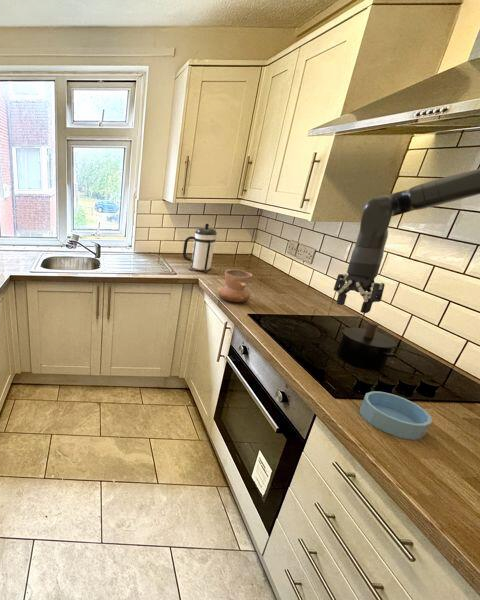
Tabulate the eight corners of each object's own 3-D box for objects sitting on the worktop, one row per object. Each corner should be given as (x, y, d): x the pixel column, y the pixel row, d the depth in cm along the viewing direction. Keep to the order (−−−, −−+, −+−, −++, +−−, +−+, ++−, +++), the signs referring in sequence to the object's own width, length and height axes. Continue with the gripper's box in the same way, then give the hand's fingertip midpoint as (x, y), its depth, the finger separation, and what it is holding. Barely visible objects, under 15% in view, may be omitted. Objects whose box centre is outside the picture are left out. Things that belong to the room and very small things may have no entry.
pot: (357, 346, 116) (365, 326, 113) (401, 375, 100) (412, 352, 97) (323, 346, 117) (330, 325, 113) (361, 375, 100) (371, 352, 97)
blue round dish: (392, 404, 87) (399, 391, 86) (439, 440, 76) (447, 425, 74) (347, 404, 88) (353, 390, 86) (386, 439, 76) (393, 424, 74)
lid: (371, 330, 111) (377, 315, 109) (407, 350, 99) (415, 333, 97) (332, 330, 112) (337, 314, 109) (363, 350, 99) (370, 333, 97)
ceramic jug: (255, 306, 151) (262, 278, 145) (225, 305, 151) (230, 277, 146) (239, 293, 167) (244, 267, 162) (211, 292, 168) (216, 267, 162)
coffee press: (205, 266, 215) (212, 221, 203) (216, 273, 200) (224, 225, 188) (180, 266, 214) (186, 221, 202) (189, 273, 199) (196, 225, 188)
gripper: (399, 265, 95) (383, 315, 100) (354, 257, 108) (342, 301, 113) (377, 265, 94) (362, 316, 99) (335, 257, 107) (323, 302, 112)
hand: (351, 308), depth 106 cm, fingers open, 8 cm apart
